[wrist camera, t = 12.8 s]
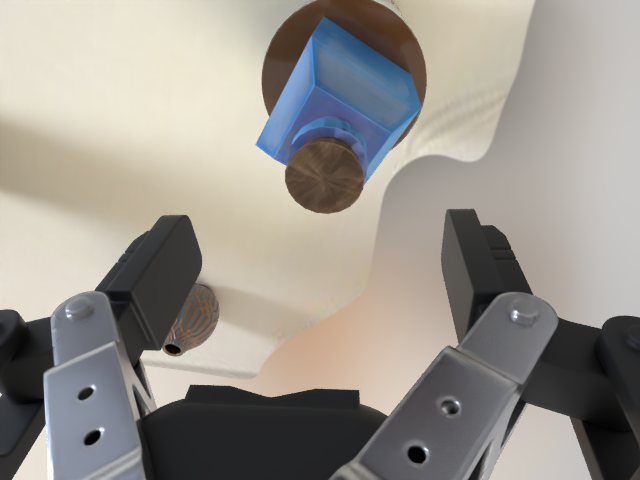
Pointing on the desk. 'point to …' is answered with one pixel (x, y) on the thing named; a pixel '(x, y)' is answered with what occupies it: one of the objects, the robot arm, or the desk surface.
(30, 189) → the desk surface
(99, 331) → the robot arm
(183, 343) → the vase
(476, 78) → the desk surface
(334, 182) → the perfume bottle
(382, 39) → the jar
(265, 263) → the desk surface
